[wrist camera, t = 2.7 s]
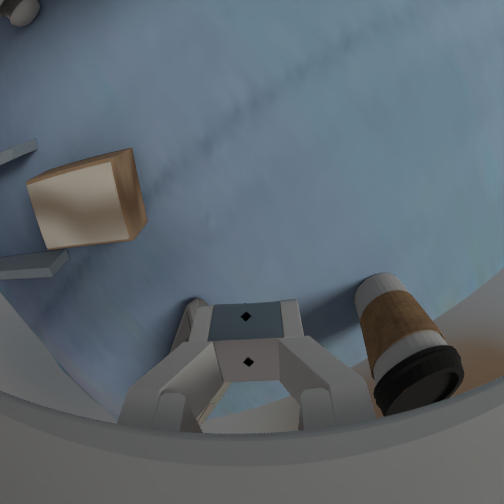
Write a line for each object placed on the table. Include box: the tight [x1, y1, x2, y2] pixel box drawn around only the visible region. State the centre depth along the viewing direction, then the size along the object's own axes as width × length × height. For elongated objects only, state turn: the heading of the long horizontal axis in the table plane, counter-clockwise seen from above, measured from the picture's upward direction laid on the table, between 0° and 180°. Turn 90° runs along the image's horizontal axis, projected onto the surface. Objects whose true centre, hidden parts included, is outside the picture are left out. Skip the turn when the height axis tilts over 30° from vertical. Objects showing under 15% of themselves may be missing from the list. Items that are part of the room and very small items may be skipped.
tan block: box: [26, 148, 148, 250], centre depth 23 cm, size 7×10×5 cm
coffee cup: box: [354, 273, 464, 417], centre depth 25 cm, size 8×8×15 cm
